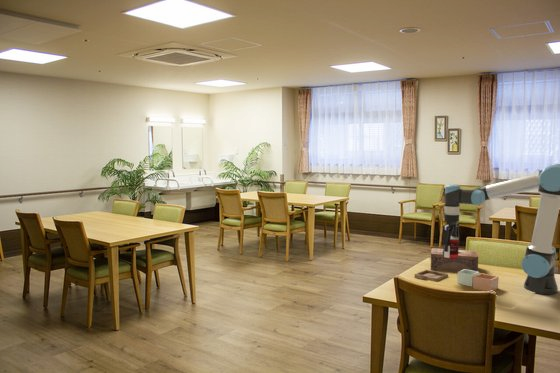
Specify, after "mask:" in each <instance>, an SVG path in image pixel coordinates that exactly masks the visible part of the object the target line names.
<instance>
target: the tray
mask: <svg viewBox="0 0 560 373" xmlns="http://www.w3.org/2000/svg"><path fill="white" fill-rule="evenodd" d="M448 277H449V274H448V273H444V272H439V271H437V270H431V269H424V270H422V271H420V272H417V273H414V278H416V279H419V280H424V281H433V282H439V281H441V280H443V279H446V278H448Z"/></svg>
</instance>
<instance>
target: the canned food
mask: <svg viewBox="0 0 560 373" xmlns="http://www.w3.org/2000/svg"><path fill="white" fill-rule="evenodd" d="M459 244H460V237H459V238H458V237H453V236H452V235H451V238H450V243H449V246H450V258H448V259H457V258H458V250H460V249H459V247H460V246H459ZM442 249H443V257H444V245H442ZM444 258H446V257H444Z"/></svg>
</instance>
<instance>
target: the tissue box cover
mask: <svg viewBox="0 0 560 373" xmlns="http://www.w3.org/2000/svg"><path fill="white" fill-rule="evenodd" d="M463 269H467V270H472V271H477V272H479V255H478V251H477V250H465V249H464V250H463V249H462V250H461V249H459V250H458V258H457V259H448V258H444V257H443V248H435V247H434V248H433V247H432V248H431V251H430V270H431V271H438V270H439V271H440V270H441V271H447V272H453V273H454V272H455V273H458V272H459V271H461V270H463Z"/></svg>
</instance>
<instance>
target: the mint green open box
mask: <svg viewBox="0 0 560 373" xmlns="http://www.w3.org/2000/svg"><path fill="white" fill-rule="evenodd" d="M478 274H480V272H479V271H478V272H477V271H472V270H467V269H463V270H461V271H459V272H457V284H458V285H464V286H467V287H472V288H473V277H474V276H476V275H478Z"/></svg>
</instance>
